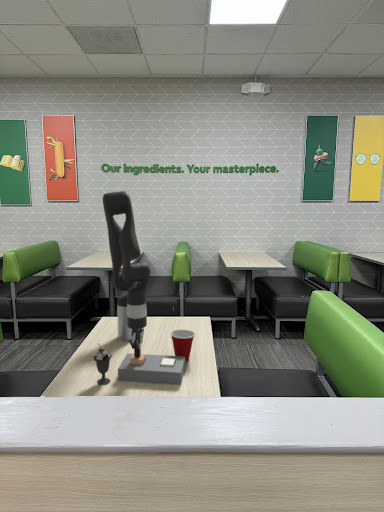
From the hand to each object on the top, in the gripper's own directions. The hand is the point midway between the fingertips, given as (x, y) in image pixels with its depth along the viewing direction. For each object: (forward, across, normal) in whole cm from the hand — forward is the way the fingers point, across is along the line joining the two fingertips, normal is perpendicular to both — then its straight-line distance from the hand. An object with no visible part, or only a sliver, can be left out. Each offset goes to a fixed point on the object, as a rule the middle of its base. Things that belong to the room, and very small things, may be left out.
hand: (137, 356), depth 132 cm
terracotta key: (+4, 0, 0) cm, 4 cm away
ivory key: (+5, 0, +12) cm, 13 cm away
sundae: (+7, +8, -11) cm, 15 cm away
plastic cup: (+7, -15, +16) cm, 23 cm away
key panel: (+7, 0, +6) cm, 9 cm away
